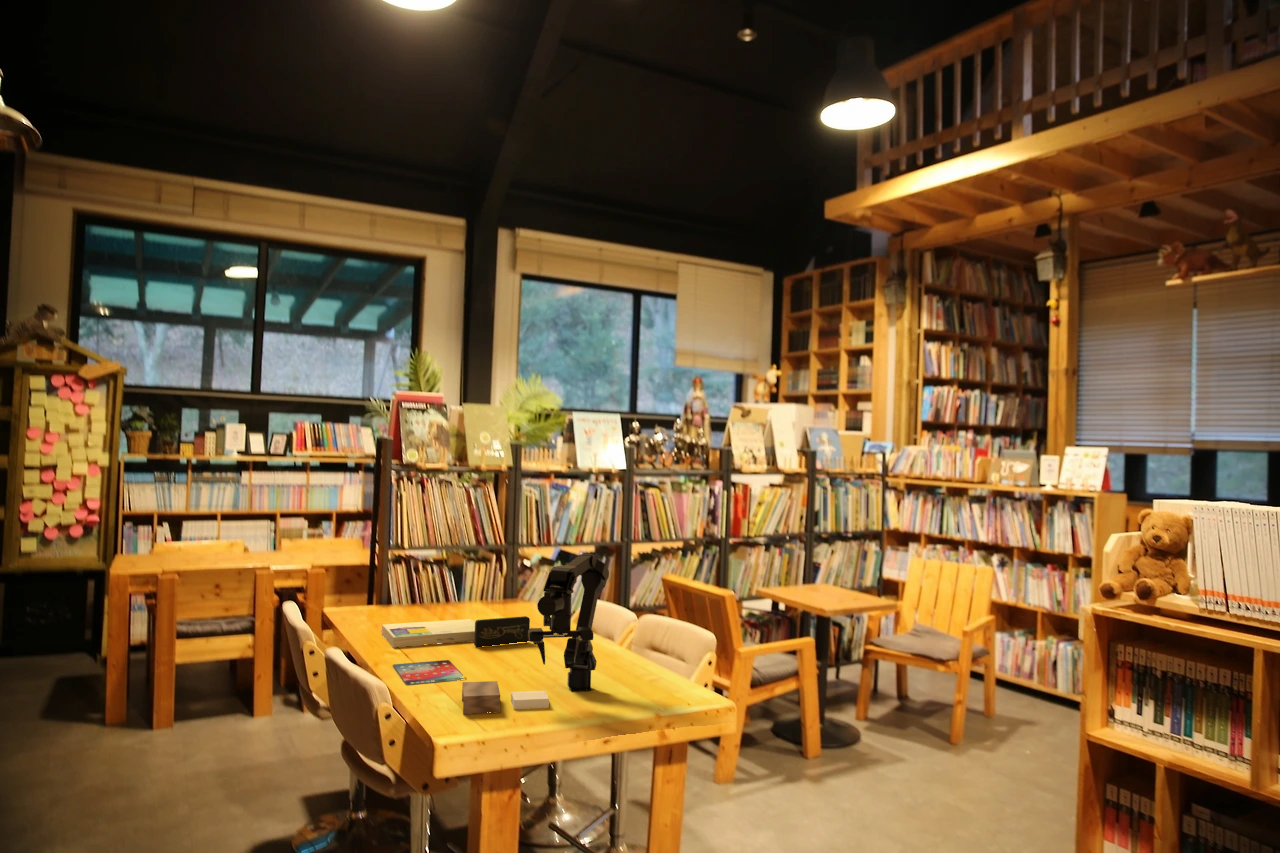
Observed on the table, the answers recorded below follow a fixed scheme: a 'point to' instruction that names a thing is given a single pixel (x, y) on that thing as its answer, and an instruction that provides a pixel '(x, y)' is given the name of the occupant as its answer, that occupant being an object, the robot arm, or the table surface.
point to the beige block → (529, 699)
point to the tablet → (427, 672)
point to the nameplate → (501, 631)
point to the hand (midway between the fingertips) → (559, 663)
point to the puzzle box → (429, 632)
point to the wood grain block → (480, 697)
